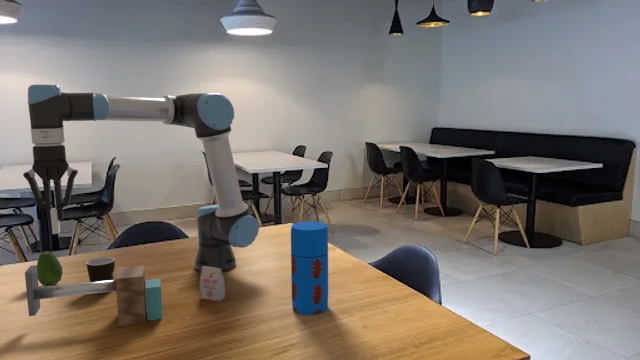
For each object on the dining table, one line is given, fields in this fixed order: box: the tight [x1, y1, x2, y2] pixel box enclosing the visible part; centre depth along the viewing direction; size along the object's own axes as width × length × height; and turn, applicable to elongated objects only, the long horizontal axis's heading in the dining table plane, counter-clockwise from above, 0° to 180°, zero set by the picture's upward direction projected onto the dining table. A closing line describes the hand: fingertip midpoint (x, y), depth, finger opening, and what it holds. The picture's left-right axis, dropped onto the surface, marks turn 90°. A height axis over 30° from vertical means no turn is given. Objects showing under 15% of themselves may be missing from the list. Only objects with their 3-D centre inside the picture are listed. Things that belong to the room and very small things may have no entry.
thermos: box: [290, 221, 329, 316], centre depth 149 cm, size 11×11×25 cm
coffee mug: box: [85, 256, 116, 295], centre depth 167 cm, size 12×9×10 cm
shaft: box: [24, 264, 116, 317], centre depth 140 cm, size 26×6×12 cm, turn 107°
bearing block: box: [115, 265, 147, 327], centre depth 144 cm, size 7×10×14 cm
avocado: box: [36, 250, 63, 287], centre depth 170 cm, size 8×8×12 cm
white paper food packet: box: [198, 266, 226, 302], centre depth 159 cm, size 4×7×10 cm, turn 70°
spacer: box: [145, 278, 163, 322], centre depth 146 cm, size 4×7×10 cm, turn 17°
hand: (56, 232), depth 136 cm, fingers closed
